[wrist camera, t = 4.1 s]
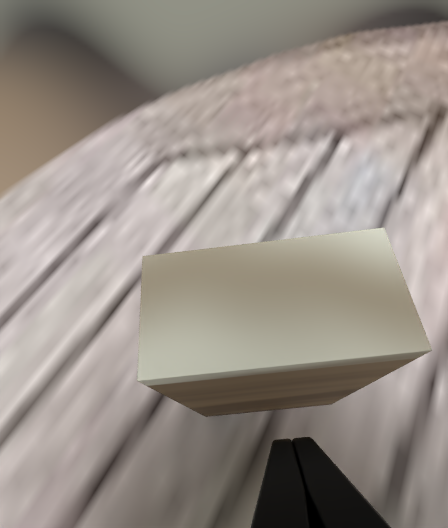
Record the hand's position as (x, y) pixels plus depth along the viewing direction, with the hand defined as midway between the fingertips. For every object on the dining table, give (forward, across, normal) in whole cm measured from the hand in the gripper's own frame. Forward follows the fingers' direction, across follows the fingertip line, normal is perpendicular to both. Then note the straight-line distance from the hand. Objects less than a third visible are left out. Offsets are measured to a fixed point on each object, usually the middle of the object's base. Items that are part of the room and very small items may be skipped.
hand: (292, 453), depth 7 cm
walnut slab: (+11, 0, +6) cm, 12 cm away
